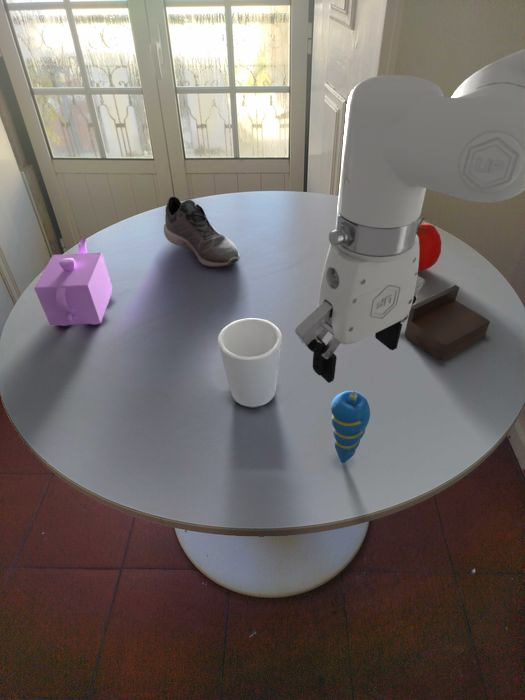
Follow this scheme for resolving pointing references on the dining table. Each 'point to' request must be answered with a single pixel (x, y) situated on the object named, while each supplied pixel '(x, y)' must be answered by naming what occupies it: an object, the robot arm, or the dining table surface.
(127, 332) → the dining table surface
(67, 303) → the teapot
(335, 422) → the ornament
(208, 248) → the athletic shoe
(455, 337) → the shelf
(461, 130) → the robot arm
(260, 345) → the cup
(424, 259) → the tomato
